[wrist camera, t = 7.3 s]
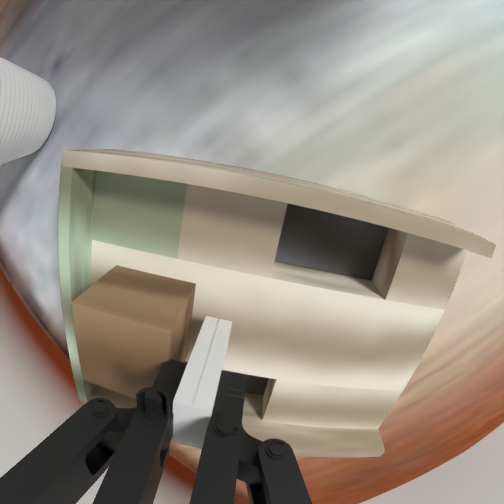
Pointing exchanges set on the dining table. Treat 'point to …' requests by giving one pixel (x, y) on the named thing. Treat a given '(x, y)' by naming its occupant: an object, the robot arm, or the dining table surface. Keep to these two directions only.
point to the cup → (23, 111)
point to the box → (270, 283)
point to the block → (131, 328)
